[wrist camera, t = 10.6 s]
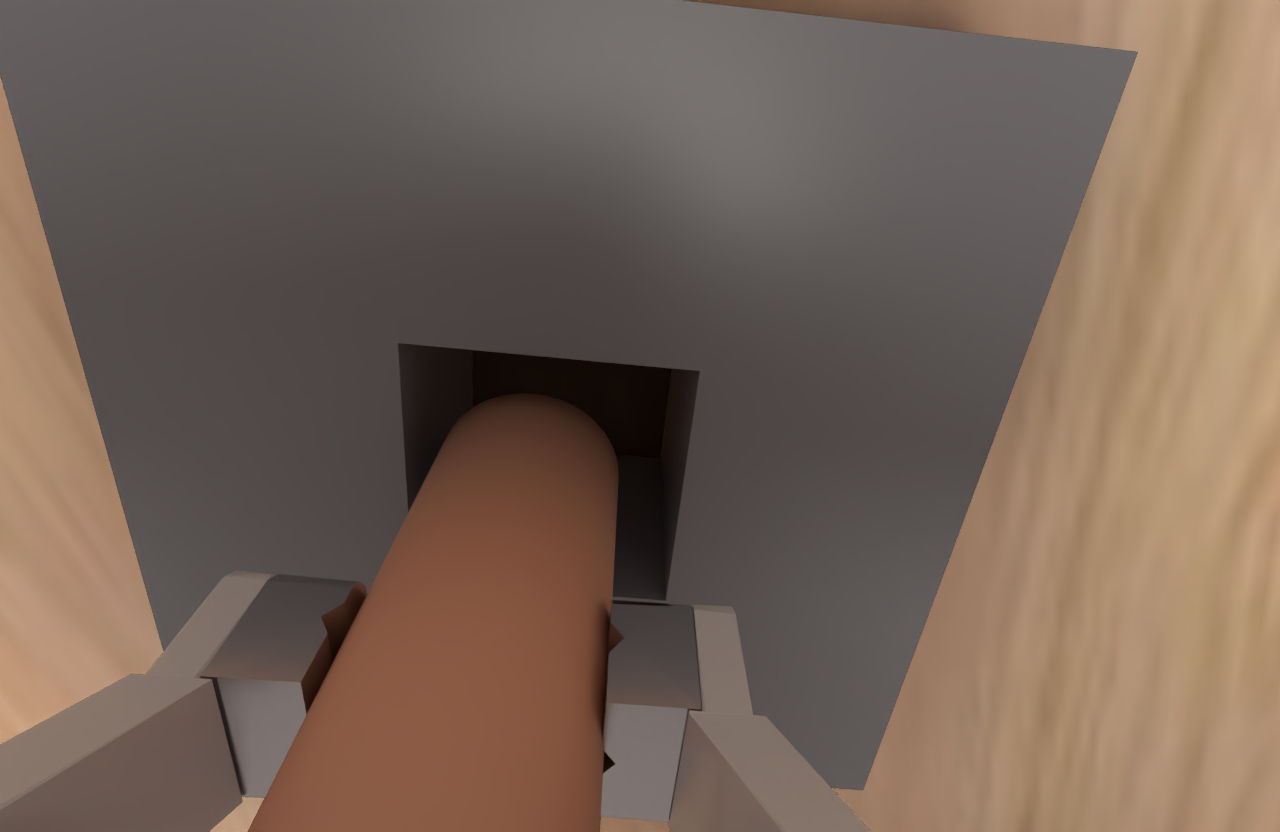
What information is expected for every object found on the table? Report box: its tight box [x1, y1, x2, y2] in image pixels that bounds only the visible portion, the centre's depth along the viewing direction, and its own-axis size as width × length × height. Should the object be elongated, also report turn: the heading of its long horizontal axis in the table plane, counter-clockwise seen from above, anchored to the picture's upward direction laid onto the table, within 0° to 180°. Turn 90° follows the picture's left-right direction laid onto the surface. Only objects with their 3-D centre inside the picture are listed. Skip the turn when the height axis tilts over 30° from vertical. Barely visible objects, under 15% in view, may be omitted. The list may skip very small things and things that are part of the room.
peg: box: [248, 393, 619, 832], centre depth 8 cm, size 3×3×10 cm
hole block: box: [0, 0, 1138, 790], centre depth 14 cm, size 14×14×5 cm
